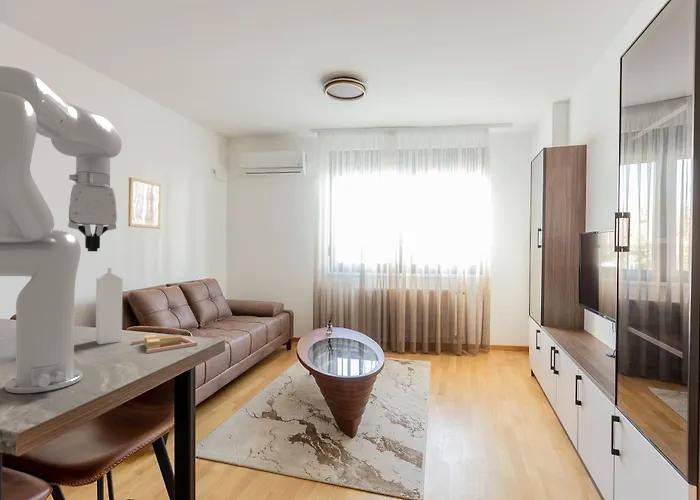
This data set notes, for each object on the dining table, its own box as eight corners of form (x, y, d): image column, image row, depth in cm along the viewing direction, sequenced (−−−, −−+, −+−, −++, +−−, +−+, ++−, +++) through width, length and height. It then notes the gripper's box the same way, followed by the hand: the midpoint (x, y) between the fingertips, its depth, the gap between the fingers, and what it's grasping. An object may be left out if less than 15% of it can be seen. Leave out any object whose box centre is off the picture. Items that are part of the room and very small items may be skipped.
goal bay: (197, 345, 115) (197, 342, 115) (147, 353, 105) (147, 350, 105) (178, 337, 125) (178, 334, 125) (131, 343, 115) (131, 341, 115)
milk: (98, 344, 114) (98, 268, 114) (95, 340, 119) (95, 267, 119) (122, 341, 118) (122, 268, 118) (118, 337, 123) (119, 267, 122)
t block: (183, 347, 112) (183, 338, 112) (147, 351, 108) (147, 342, 108) (177, 340, 120) (177, 332, 120) (144, 344, 115) (144, 335, 115)
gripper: (61, 176, 96) (60, 251, 96) (128, 183, 107) (128, 251, 107) (55, 179, 102) (55, 251, 102) (121, 186, 112) (120, 251, 112)
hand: (92, 251), depth 104 cm, fingers closed
